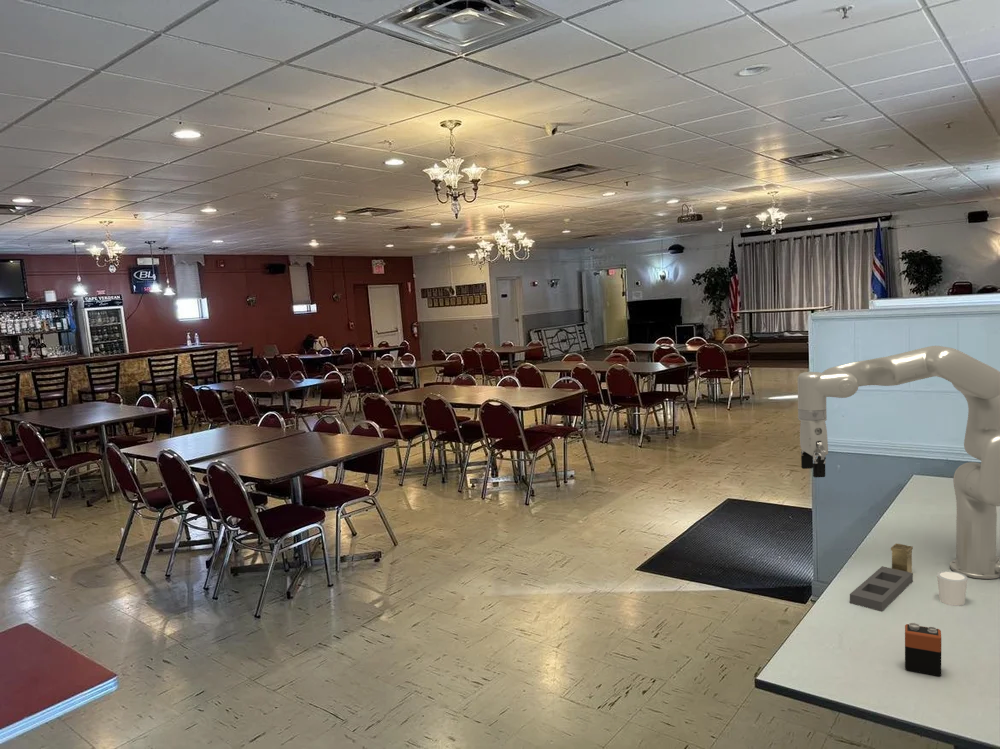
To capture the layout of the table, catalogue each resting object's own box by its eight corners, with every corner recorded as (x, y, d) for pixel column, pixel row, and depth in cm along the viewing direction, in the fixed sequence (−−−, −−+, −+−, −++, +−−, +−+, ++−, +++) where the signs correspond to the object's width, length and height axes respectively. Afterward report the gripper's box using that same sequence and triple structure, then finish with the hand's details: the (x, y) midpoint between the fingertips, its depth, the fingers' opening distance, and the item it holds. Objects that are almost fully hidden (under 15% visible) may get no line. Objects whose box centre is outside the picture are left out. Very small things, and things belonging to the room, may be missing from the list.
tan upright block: (912, 573, 203) (912, 546, 202) (907, 577, 200) (907, 551, 199) (896, 569, 206) (896, 543, 205) (891, 574, 203) (890, 547, 202)
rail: (912, 581, 197) (912, 572, 197) (882, 611, 181) (882, 602, 181) (882, 574, 203) (882, 566, 203) (849, 602, 187) (849, 594, 187)
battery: (905, 661, 158) (905, 619, 157) (940, 667, 154) (940, 624, 153) (904, 670, 154) (904, 627, 153) (941, 677, 151) (941, 633, 149)
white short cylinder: (963, 596, 186) (963, 571, 186) (971, 607, 180) (971, 581, 179) (933, 594, 189) (933, 569, 188) (940, 605, 182) (940, 580, 182)
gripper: (837, 419, 193) (838, 480, 195) (814, 409, 210) (815, 464, 212) (809, 421, 193) (810, 481, 195) (789, 410, 211) (790, 465, 212)
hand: (813, 472), depth 204 cm, fingers open, 9 cm apart
